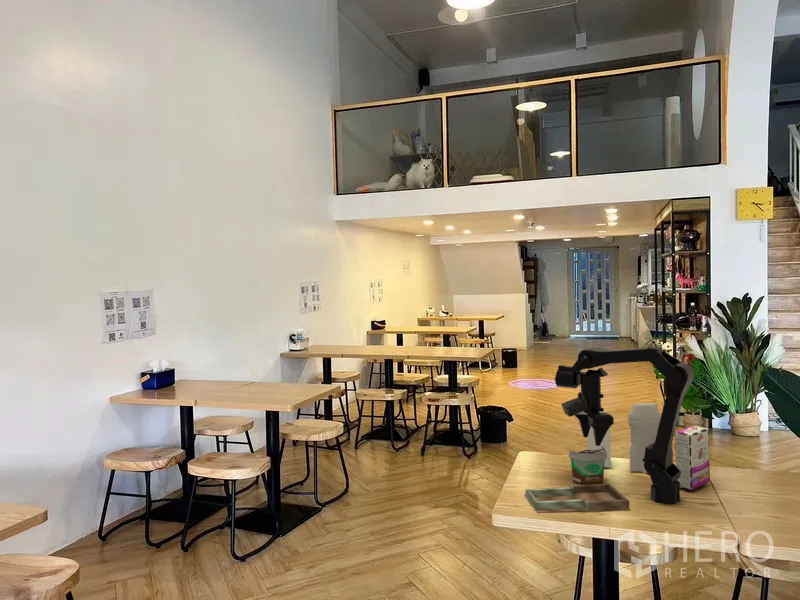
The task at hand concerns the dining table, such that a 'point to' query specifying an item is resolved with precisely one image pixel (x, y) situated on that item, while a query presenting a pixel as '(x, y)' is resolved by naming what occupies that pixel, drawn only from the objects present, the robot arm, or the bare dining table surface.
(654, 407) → the light grey flat bottle
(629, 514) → the dining table surface
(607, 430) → the robot arm
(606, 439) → the milk carton
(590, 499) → the green flat tray
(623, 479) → the dining table surface
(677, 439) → the candy bar box
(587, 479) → the food container
